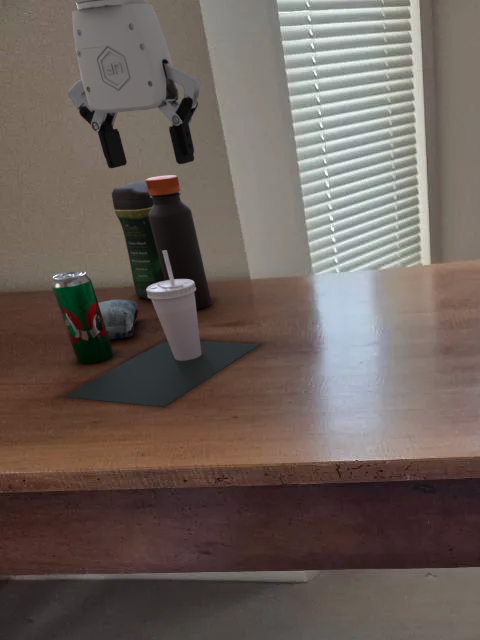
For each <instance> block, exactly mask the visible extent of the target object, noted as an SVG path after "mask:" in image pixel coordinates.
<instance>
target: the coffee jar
mask: <svg viewBox="0 0 480 640" xmlns="http://www.w3.org/2000/svg"><path fill="white" fill-rule="evenodd" d="M150 196H151V195H149V192H148V189H147V185H146V181H145V180H138V181H134V182H130V183H126V184H123V185H119V186H117V187H114V188H113V189H112V192H111V198H112V205H113V210H114V213H115V215H116V218H117V219H118V221H119V223H120V225H121V229H122V232H123V236H124V240H125V244H126V245H125V246H126V250H127V255H128V260H129V266H130V271H131V277H132V282H133V286H134V291H135V294H136V296H137V297H141V298H143V299H146V300H151V299H150V298H148V296H147V291H146V289H147V287H148V286H150V285H152V284H155V283H158V282H162V281H165V280H164V276H163V272H162V268H161V264H160V260H159V256H158V252H157V248H156V244H155V240H154V236H153V232H152V229H151V225H150V221H149V216H148V215H149V212H150V210H151V208H152V206H153V204H154V203H153V199H152V198H150Z"/></svg>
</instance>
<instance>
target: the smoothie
mask: <svg viewBox="0 0 480 640" xmlns="http://www.w3.org/2000/svg"><path fill="white" fill-rule="evenodd" d="M162 252H163V256H164V259H165V263H166V267H167V271H168V275H169V279H170V280H166V281H162V282H158V283H155V284H152V285H150V286H148V287H147V289H146V291H147V296H148V298H150V299H149V300H151V303H152V305H153V308H154V311H155V312H156V315H157V317H158V320H159V322H160V325H161V328H162V331H163V333H164V335H165V338H166V340H168V343H169V345H170V348H171V350H172V353H173V355H174V358H175V359H176V360H179V361H185V360H191V359H195V358H197V357H199V356H201V346H200V341H201V339H200V329H199V321H198V320H199V319H198V313H197V311H198V310H196V301H195V294H194V291H196V287H195V283H194V281H192V280H190V279H174V278H173V273H172V269H171V265H170V261H169V257H168V253H167V250H165V251H162Z"/></svg>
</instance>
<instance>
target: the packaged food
mask: <svg viewBox="0 0 480 640" xmlns="http://www.w3.org/2000/svg"><path fill="white" fill-rule="evenodd" d="M98 304H99V307H100V310H101V314H102V317H103V320H104V323H105V327H106V330H107V333H108V336H109V340H110V341H111V340H117V339H125V338H130V337H132V336H133V334H134V331H135V327H136V322H137V319H138V315H139V306H138V303H137V302H136V301H134V300H129V299H118V298H115V299H109V300H104V301H100V302H98Z"/></svg>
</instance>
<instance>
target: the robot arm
mask: <svg viewBox="0 0 480 640" xmlns="http://www.w3.org/2000/svg"><path fill="white" fill-rule="evenodd" d="M74 1H75V5H76V7H77V8H76V9H77V10H72V11H71V20H72V21H71V22H72V32H73V41H74V48H75V52H76V59H77V63H78V68H79V73H80V78H79V79H78V80H77V81H76V82H75V83H74V84H73V86H71V88H69V90H68V91H67V96H68V98H69V99H70V100H71V102H72V103H73V105H74V106H75V107H76V109H77V110H78V112H79V115H80V116H81V117H82V118H83V119H84V120H85V121H86V122H87V123H88V124H89V125H90V127H91V129H92V131H94V132H95V133H97V135H98V138H99V142H100V146H101V149H102V153H103V156H104V159H105V161H106V165H107V167H108V169H115V168H119V167H125V166H126V165H127V163H128V162H127V157H126V153H125V150H124V146H123V142H122V138H121V135H120V131H119V130H118V128H114V126H115V125H114V124H115V121H116V118H117V116H118V113H124V112H125V113H126V112H135V111H136V112H137V111H146V110H153V109H156V108H158V109H159V111H160V112H161V113H163V115H164V116H165V117H166V118H167V119H168V120H169V122H171V124H172V125H170V126H169V127H168V129H169V130H168V132H169V136H170V140H171V144H172V149H173V153H174V158H175V161H176V164H178V165H185V164H188V163H192V162H194V161H195V156H194V153H195V147H194V143H193V137H192V133H191V128H190V124H191V123H192V121H193V116H194V114H195V112H196V110H197V108H198V107H199V102H198V99H199V96H200V90H201V85H202V84H201V80H200V79H199V78H198V77H196V76H195V75H193V74H191V73H189V72H187V71H185V70H183V69H181V68H179V67H177V66H176V65H173V62H172V57H171V53H170V50H169V47H168V44H167V41H166V37H165V35H164V32H163V29H162V26H161V24H160V21H159V18H158V16H157V13H156V11H155V8H154V7H153V4H152V3H148V1H147V0H74ZM178 85H179V86H181V87H182V88H183V98H182V99H181V101H179V94H180V93H179V87H178Z"/></svg>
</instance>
